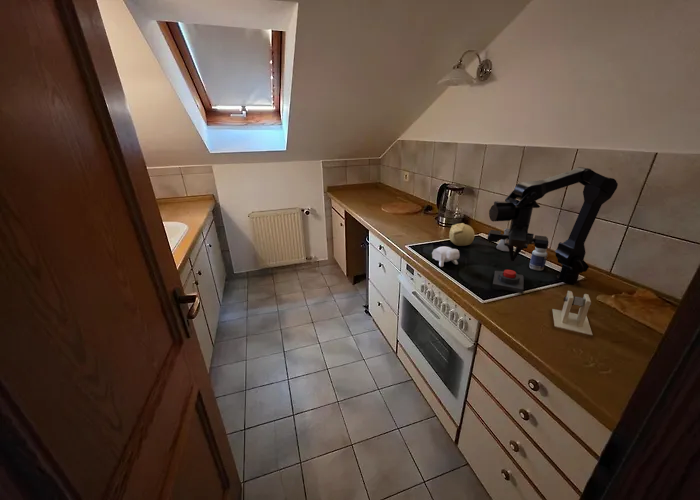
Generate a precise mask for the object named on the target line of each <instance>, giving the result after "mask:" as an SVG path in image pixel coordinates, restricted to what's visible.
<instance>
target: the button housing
mask: <svg viewBox="0 0 700 500" xmlns="http://www.w3.org/2000/svg"><path fill="white" fill-rule="evenodd" d="M493 274H494V276H493V281H492V284H491V289H492V290H495V291H501V290H505V291H510V292H515V293H518V294H523V293H524V285H525V284H524V282H525V281H524V280H525V277H524V275H523V274H520V273H519V274H518V273H517V272H516V276H515V278H507V277H505V276H503V274H504V270H502V271H501V270H494V273H493Z"/></svg>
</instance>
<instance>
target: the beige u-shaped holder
mask: <svg viewBox="0 0 700 500" xmlns="http://www.w3.org/2000/svg"><path fill="white" fill-rule="evenodd" d="M589 295H590V294H587V293H584V294H583V297H582V298H584V301H583V306H579V309H578V312H577V313H575V312H571V309H572V306H573V305H572V303H573V300H574V297H573V296H574V294H573V291H571V290H567V293H566V296H564V297H565V302H564V301H563V306H562V309H561V310H560V309H556V308H552V317H553V324H554V327H555V328H556V329H562V330H565V331H566V330H567V331H571V332H575V333H579V334H583V335H587V336H593V332H592V329H591V326H590V322H589V319H588V316H587V315H588V312H589V309H590V306H592V301H591V298H590V296H589Z"/></svg>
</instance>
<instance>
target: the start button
mask: <svg viewBox="0 0 700 500" xmlns="http://www.w3.org/2000/svg"><path fill="white" fill-rule="evenodd" d="M503 271H504V274H503V276H505V277H507V278H515V276H516V273H517V272H516V271H515V270H513V269H504V270H503Z"/></svg>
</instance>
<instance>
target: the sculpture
mask: <svg viewBox="0 0 700 500" xmlns="http://www.w3.org/2000/svg"><path fill="white" fill-rule="evenodd" d="M474 230H475V229H473V227H472V226H470V225H469V224H465V223H464V222H460V223H455V224H452V225H451V227H450V230H449V233H448V235H449V240H450V242H451V243H452V244H453V245H455V246H459V247H467V246H470V245H471V244H473V242H474V239H475V231H474Z"/></svg>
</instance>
